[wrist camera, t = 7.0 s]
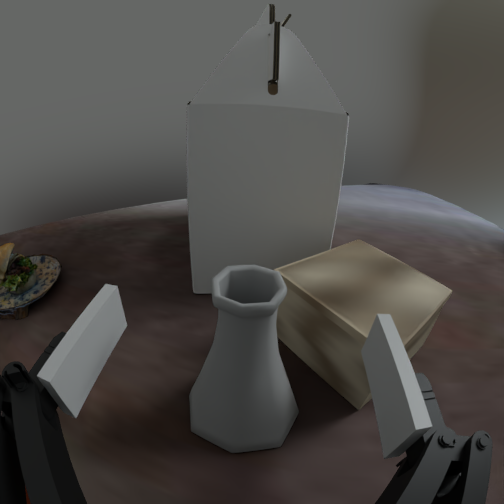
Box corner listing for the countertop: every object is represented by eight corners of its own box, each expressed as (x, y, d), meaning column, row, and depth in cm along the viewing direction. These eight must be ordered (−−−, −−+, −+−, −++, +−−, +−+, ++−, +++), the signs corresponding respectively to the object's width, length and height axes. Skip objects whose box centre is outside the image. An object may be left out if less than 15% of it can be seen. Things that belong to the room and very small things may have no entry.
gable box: (324, 290, 28) (355, 6, 15) (193, 296, 27) (194, -15, 13) (278, 213, 48) (289, 48, 35) (199, 214, 46) (202, 43, 33)
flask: (173, 440, 14) (128, 325, 9) (203, 358, 20) (193, 237, 15) (294, 462, 13) (344, 359, 8) (300, 372, 19) (329, 252, 14)
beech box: (425, 344, 21) (452, 290, 18) (358, 413, 16) (393, 356, 13) (346, 290, 28) (358, 239, 26) (267, 330, 23) (273, 269, 20)
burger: (37, 330, 20) (8, 261, 16) (-27, 316, 19) (-52, 259, 15) (80, 265, 31) (68, 209, 27) (18, 263, 29) (4, 215, 26)
